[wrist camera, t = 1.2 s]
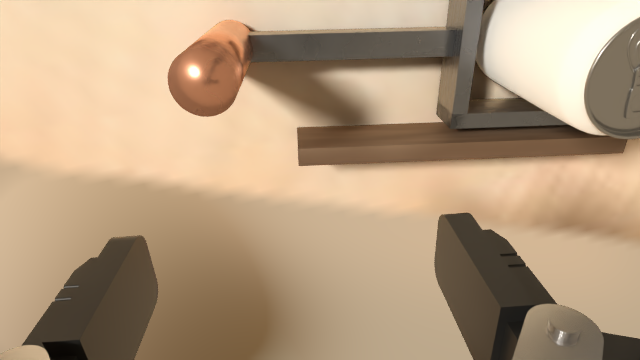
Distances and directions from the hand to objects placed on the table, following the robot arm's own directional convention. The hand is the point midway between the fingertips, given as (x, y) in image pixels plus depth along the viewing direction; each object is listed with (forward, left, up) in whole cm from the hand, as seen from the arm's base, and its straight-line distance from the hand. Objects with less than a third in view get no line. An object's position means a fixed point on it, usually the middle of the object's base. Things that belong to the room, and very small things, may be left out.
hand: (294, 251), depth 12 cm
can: (-2, +15, -20) cm, 25 cm away
